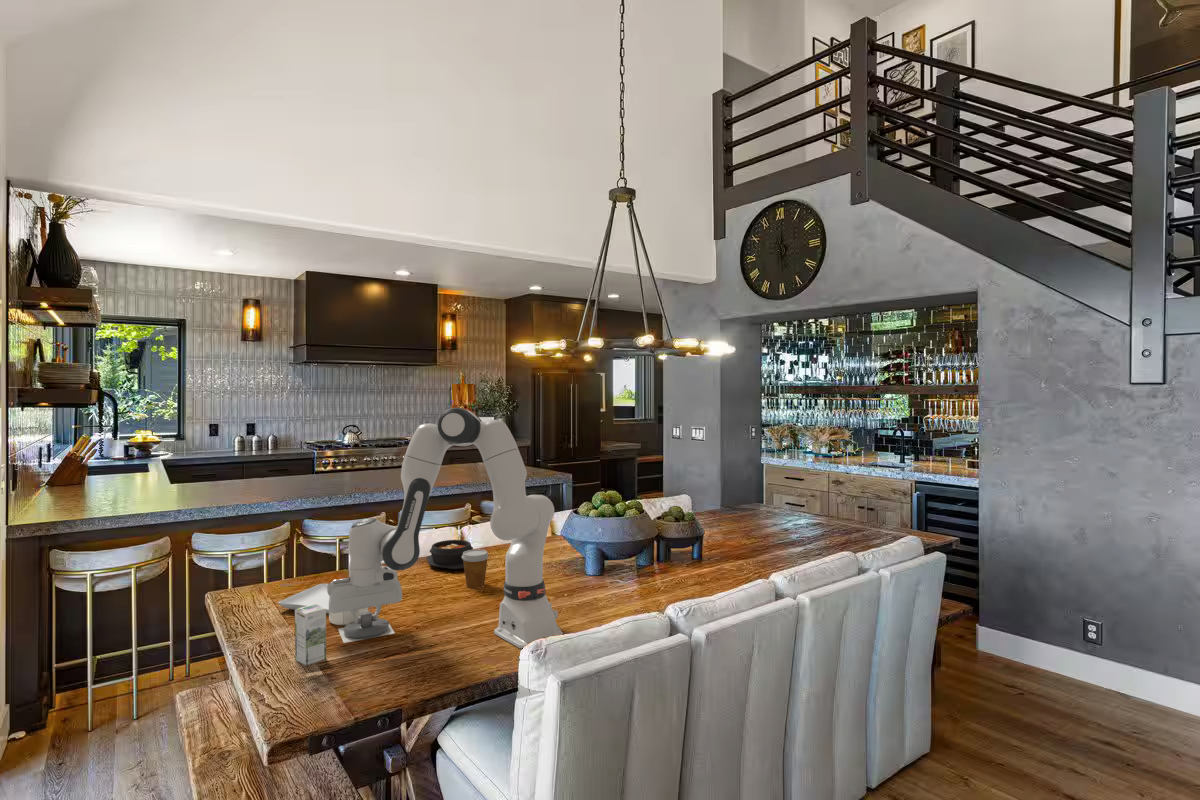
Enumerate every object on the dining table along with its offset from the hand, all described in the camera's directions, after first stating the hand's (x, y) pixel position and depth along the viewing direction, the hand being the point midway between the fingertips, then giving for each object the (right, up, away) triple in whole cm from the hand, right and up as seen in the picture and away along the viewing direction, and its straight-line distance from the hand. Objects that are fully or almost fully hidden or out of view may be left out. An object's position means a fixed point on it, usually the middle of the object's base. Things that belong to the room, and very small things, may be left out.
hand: (366, 622), depth 193 cm
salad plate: (-22, -3, +26) cm, 34 cm away
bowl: (-9, -3, +10) cm, 14 cm away
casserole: (+9, -1, +70) cm, 71 cm away
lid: (0, -2, 0) cm, 2 cm away
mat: (0, -4, 0) cm, 4 cm away
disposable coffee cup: (+23, -2, +44) cm, 50 cm away
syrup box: (-8, -4, -19) cm, 21 cm away
